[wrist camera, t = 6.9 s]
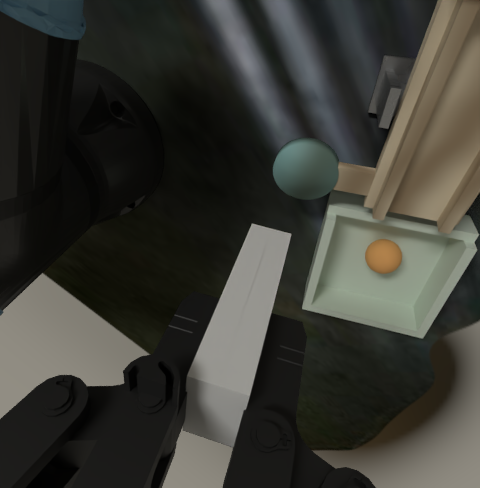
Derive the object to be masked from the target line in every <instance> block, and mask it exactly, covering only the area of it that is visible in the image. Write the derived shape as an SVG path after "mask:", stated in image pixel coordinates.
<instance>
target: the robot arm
mask: <svg viewBox="0 0 480 488" xmlns="http://www.w3.org/2000/svg"><path fill="white" fill-rule="evenodd" d="M83 1H84V0H0V315H1V314H2V313H3V310H4V309H5V308H6V307H7V306H8V305H9V304H10V303H11V302H12V301H13V300H14V299H15V298H16V297H17V296H18V295H19V294H20V293H22V292H23V291H24V290H25V289H26V288H27V287H28V286H29V285H30V284H31V283H32V282H33V281H34V280H35V279H36V278H37V277H38V276H39V275H41V274H42V273H43V272H44V271H45V270H46V269H47V268H48V267H49V266H50V265H51V264H52V263H53V262H54V261H55V260H56V259H57V258H59V257H60V256H61V255H62V254H63V253H64V252H65V251H66V250H67V249H68V248H69V247H70V246H71V245H72V244H73V243H74V242H75V241H76V240H77V239H79V238H80V237H81V236H82V235H83V234H84V233H85V232H86V231H87V230H88V229H89V228H90V227H91V226H93V225H95V224H98V223H101V222H104V221H107V220H109V219H112V218H115V217H117V216H120V215H123V214H126V213H128V212H130V211H132V210H134V209H135V208H137V207H138V206H140V205H141V204H142V203H143V202H144V201H145V200H146V199H147V198H148V197H149V196H150V195H151V194H152V193H153V191H154V190H155V189H156V187H157V185H158V183H159V181H160V179H161V176H162V172H163V165H164V153H163V145H162V140H161V136H160V133H159V130H158V128H157V125H156V123H155V121H154V119H153V117H152V115H151V113H150V111H149V110H148V108H147V106H146V105H145V103H144V102H143V101H142V99H141V98H140V97H139V96H138V95H137V93H136V92H135V91H134V90H133V89H132V88H131V87H130V86H129V85H128V84H127V83H126V82H124V81H123V80H122V79H121V78H120V77H118V76H117V75H115V74H114V73H112V72H111V71H109V70H107V69H105V68H104V67H101V66H99V65H97V64H94V63H91V62H88V61H84V60H77V52H78V44H79V39H82V36H83V35H84V33H85V30H86V21H85V19H84V16H83ZM290 238H291V234H290V233H286V232H282V231H278V230H274V229H271V228H267V227H263V226H259V225H255V224H252V225H251V227H250V230H249V232H248V234H247V237H246V239H245V241H244V244H243V246H242V248H241V251H240V253H239V255H238V258H237V260H236V262H235V265H234V267H233V269H232V272H231V274H230V276H229V279H228V281H227V283H226V286H225V288H224V290H223V293H222V295H221V297H220V299H219V298H215V297H212V296H208V295H205V294H201V293H198V292H195V291H194V292H193V293H191V294H190V295H189V296H187V297H186V298H185V299H184V300H182V302H181V303H180V305H179V307H178V309H177V311H176V313H175V315H174V316H173V318H172V320H171V322H170V324H169V327H167V329H166V331H165V333H164V335H163V337H162V338H161V340H160V342H159V344H158V346H157V348H156V349H155V351H154V353H153V355H147V356H142V357H139V358H138V359H136V360H134V361H132V362H131V363H130V364H129V365H128V366H127V367H126V368H125V370H124V371H123V373H124V382H125V383H124V384H121V385H116V386H86V384H85V383H84V382H83V381H82V380H81V379H80V378H77V377H75V376H72V375H59V376H56V377H53V378H49V379H47V380H46V381H44V382H43V383H41V384H40V385H38V386H37V387H36V388H35V389H34V390H32V391H31V392H30V393H29V394H28V395H27V396H26V397H25V398H24V399H22V400H21V401H20V402H19V403H18V404H17V405H16V406H14V407H13V408H12V409H11V410H10V411H9V412H8V413H7V414H6V415H4V416H3V417H2V418H1V419H0V488H162V486H163V483H164V480H165V477H166V475H167V472H168V469H169V467H170V465H171V462H172V459H173V457H174V454H175V449H176V442H177V439H178V437H179V434H180V432H181V429H182V426H183V431H186V432H189V433H193V434H195V435H198V436H201V437H204V438H207V439H210V440H213V441H216V442H218V443H221V444H224V445H227V446H230V447H233V451H232V455H231V458H230V462H229V466H228V469H227V473H226V476H225V480H224V484H223V488H375V486H374V485H373V484H372V482H371V481H370V480H369V479H368V478H367V477H365V476H364V475H363V474H362V473H360V472H359V471H357V470H354V469H351V468H347V467H344V468H337V469H335V468H334V467H332V466H331V465H330V464H328V463H327V462H326V461H324V460H323V459H321V458H320V457H319V456H318V455H316V454H315V453H314V452H313V451H312V450H311V449H309V448H308V447H307V445H306V444H305V443H304V441H303V440H302V438H301V436H300V434H299V432H298V429H297V424H296V410H297V403H298V396H299V389H300V382H301V375H302V366H303V361H304V353H305V346H306V339H307V336H306V333H305V330H304V327H303V323H302V322H300V321H297V320H294V319H290V318H287V317H283V316H280V315H276V314H273V313H271V312H272V308H273V304H274V300H275V296H276V292H277V288H278V285H279V281H280V277H281V273H282V269H283V265H284V261H285V257H286V253H287V249H288V246H289V242H290Z"/></svg>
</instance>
